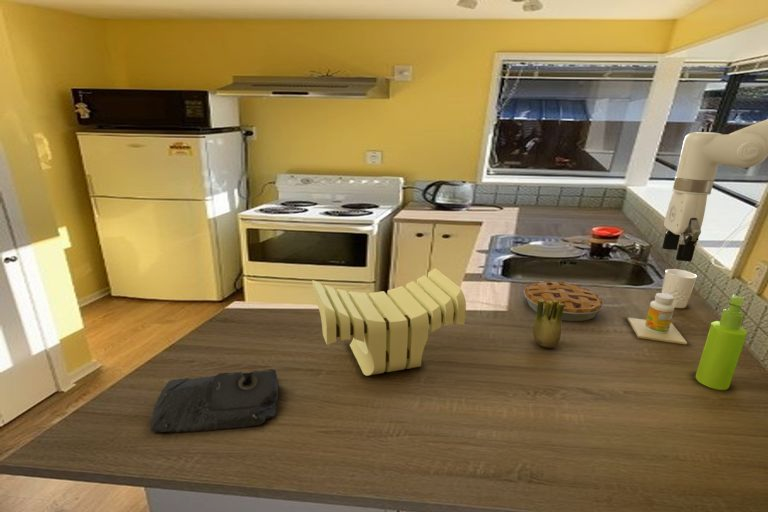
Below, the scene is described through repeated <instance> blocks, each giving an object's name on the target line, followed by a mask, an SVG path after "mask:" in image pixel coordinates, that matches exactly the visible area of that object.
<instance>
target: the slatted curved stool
mask: <svg viewBox="0 0 768 512" xmlns="http://www.w3.org/2000/svg"><path fill="white" fill-rule="evenodd" d="M311 281H312V293H313V296H314V298H315V302H316V304H317V307H318V311H319V315H320V320H321V329H322V330H321V331H322V337H323V339H324V342H325V344H326V346H329V345H332V344H334V343H337V338H339V339H340V341H341V342H342V341H349V340H351V336H352V337H353V338H352V341H351V342H350V343H349V347H350V349H351V352H352V353H353V355H354V357H355V359H356V362H357V363H358V365H359V368H360V369H361V372H362V374H363V375H365V376H367V377H368V376H373V375H379V374H384V373H392V372H397V371H402V370H403V371H404V370H405V369H407V370H408V369H409V370H410V369H413V368H420V367H422V358H423V353H424V351H425V350H424V349H425V347H426V344H427V342H428V340H429V330H430V332H431V333H434V332H435V331H437V330H438V329H440V328H442V325H444V327H446V326H453V325H454V324H455V325H457V326H465V324H466V323H465V321H466V312H467V301H466V297H465V294H464V292H463V290H462V288H461V287H460V286H459V285H457V284H456V283H455V282H454V281H453V280H451V279H450V278H449V277H447V276H446V275H444V273H442V272H441V271H440V270H438V269H437V268H436V267H435V268H433V269H431V270H430V271H428V272H427V275H425V274H423V275H422V276H420V277H418V278H416V282H415V281H414V280H412V281H410V282H408V283H406V284H405V287H404V286H403V285H400V286H397V287H395V288H394V287H393V288H391V289H388V290H387V292H385V291H384V290H383V291H382V290H381V291H373V292H368V295H367V293H366V292H359V291H348V292H349V293H347V291H346V290H345V289H340V288H337V289H336V290H337V291H335V289H334V287H332V286H329V285H326V284H324V287H323V285H322V283H321V282H318V281H316V280H313V279H312V280H311Z"/></svg>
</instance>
